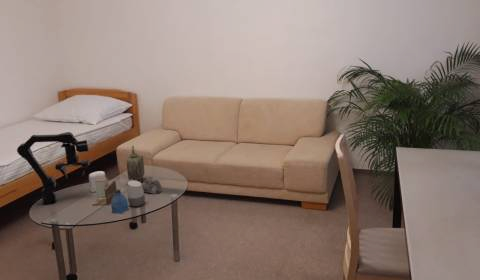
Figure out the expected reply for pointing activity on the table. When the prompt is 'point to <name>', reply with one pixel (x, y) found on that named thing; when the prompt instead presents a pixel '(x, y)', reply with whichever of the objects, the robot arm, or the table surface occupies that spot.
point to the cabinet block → (101, 187)
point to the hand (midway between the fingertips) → (74, 178)
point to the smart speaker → (135, 193)
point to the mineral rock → (152, 186)
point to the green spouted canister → (135, 166)
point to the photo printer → (94, 177)
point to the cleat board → (107, 195)
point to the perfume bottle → (119, 202)
